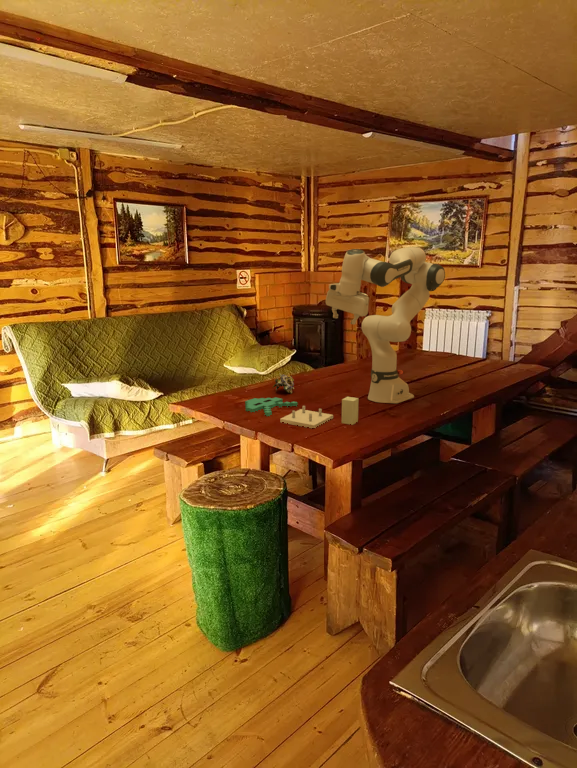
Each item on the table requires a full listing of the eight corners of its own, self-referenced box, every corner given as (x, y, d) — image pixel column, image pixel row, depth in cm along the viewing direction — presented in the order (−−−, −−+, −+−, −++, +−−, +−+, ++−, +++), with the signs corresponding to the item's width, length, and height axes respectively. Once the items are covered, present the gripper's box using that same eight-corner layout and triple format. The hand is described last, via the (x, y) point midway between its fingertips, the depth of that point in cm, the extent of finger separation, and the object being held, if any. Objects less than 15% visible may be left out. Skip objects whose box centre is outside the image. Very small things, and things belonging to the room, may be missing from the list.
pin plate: (300, 412, 240) (300, 402, 239) (333, 418, 232) (333, 408, 230) (280, 422, 227) (280, 411, 226) (314, 428, 218) (314, 418, 217)
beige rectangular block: (347, 419, 230) (347, 396, 227) (357, 421, 227) (358, 398, 225) (341, 422, 226) (341, 399, 223) (352, 424, 223) (353, 401, 221)
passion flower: (290, 403, 272) (290, 388, 263) (269, 398, 274) (269, 383, 265) (296, 386, 279) (297, 371, 270) (275, 381, 281) (276, 366, 272)
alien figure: (297, 406, 250) (264, 399, 262) (297, 402, 249) (264, 394, 261) (268, 417, 235) (234, 409, 247) (268, 412, 234) (234, 404, 246)
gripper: (374, 294, 226) (368, 326, 231) (334, 283, 238) (330, 314, 243) (365, 295, 222) (359, 328, 227) (325, 284, 234) (321, 315, 239)
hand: (343, 321), depth 235 cm, fingers open, 8 cm apart
